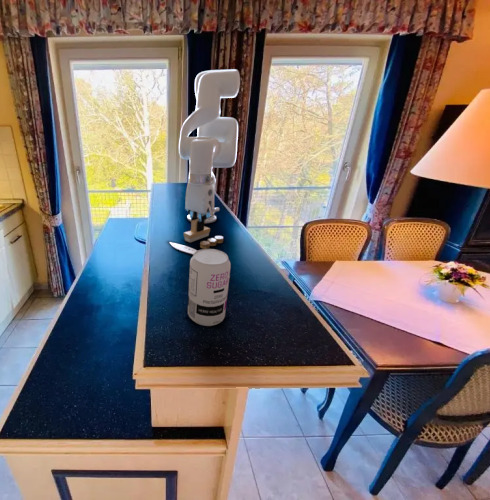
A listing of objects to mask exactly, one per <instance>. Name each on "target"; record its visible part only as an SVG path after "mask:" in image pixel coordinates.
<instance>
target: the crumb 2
mask: <svg viewBox="0 0 490 500" xmlns="http://www.w3.org/2000/svg"><path fill="white" fill-rule="evenodd" d="M213 238H214V239H216V240H217V243H216V244H223V242H224V236H222V235H215V236H214V237H213Z"/></svg>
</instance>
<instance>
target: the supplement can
mask: <svg viewBox="0 0 490 500" xmlns="http://www.w3.org/2000/svg"><path fill="white" fill-rule="evenodd" d="M231 265H232V264H231V261H230V259H229V256H228V254H227V253H226V252H225V251H222V250H220V249H215V248H208V249H203V248H201V249H199V250H198V251H196V252H195V253H194V255H193V254H192V257H191V258H190V260H189V277H188V294H187V295H188V297H187V298H188V299H187V302H188V303H187V315H188V317H189V318H190V319H191V321H193V322H194V323H196V324H198V325H200V326H205V327H212V326H217V325H218V324H220V323H222V322H223V321H224V319H225V318H226V311H227V310H226V309H227V301H228V292H229V283H230V278H229V276H230V277H231Z"/></svg>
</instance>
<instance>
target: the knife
mask: <svg viewBox="0 0 490 500" xmlns="http://www.w3.org/2000/svg"><path fill="white" fill-rule="evenodd" d="M169 244H170V245H171V247H173V248H174V249H176V250H179V251H180V252H183V253H187V254H190V255H192V256H193V255H194V253H195V252H196V251H198V250H197V249H195V248H193V247H190V246H188V245H183V244H180V243H178V242H177V243H176V242H171V241H169ZM230 278H231V275H230V276H229V279H230Z"/></svg>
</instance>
